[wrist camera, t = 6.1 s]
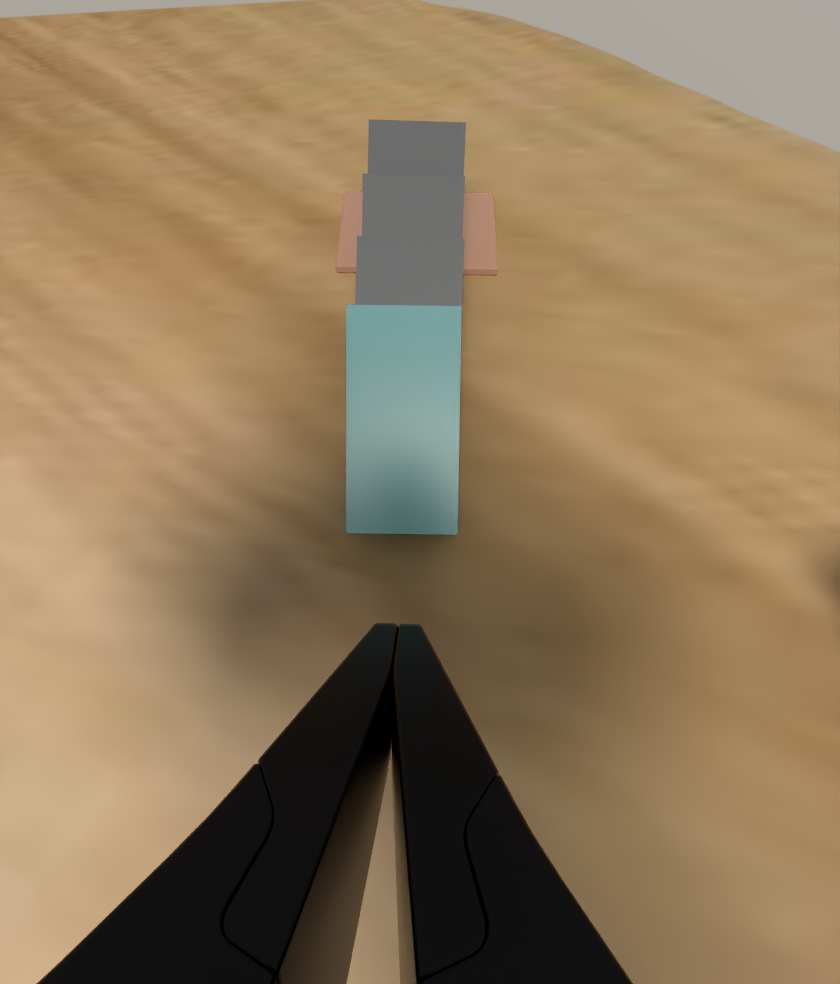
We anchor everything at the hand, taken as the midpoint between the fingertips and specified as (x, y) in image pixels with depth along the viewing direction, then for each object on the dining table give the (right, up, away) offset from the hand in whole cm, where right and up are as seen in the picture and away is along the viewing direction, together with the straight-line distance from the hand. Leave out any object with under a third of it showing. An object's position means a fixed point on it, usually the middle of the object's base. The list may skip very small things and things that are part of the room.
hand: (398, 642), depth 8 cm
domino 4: (0, +1, +12) cm, 13 cm away
